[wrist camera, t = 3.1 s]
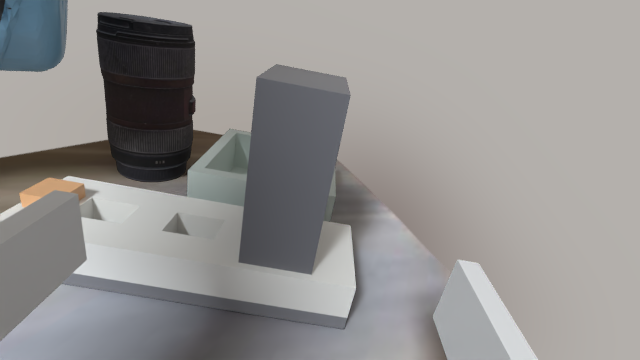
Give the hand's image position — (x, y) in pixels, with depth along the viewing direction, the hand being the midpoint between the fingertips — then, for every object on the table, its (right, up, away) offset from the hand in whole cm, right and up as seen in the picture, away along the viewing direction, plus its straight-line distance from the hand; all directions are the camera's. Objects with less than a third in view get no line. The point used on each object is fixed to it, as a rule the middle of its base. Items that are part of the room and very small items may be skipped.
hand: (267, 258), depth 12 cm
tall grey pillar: (-1, -4, +12) cm, 13 cm away
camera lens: (-16, +4, +25) cm, 30 cm away
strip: (-7, -3, +12) cm, 15 cm away
